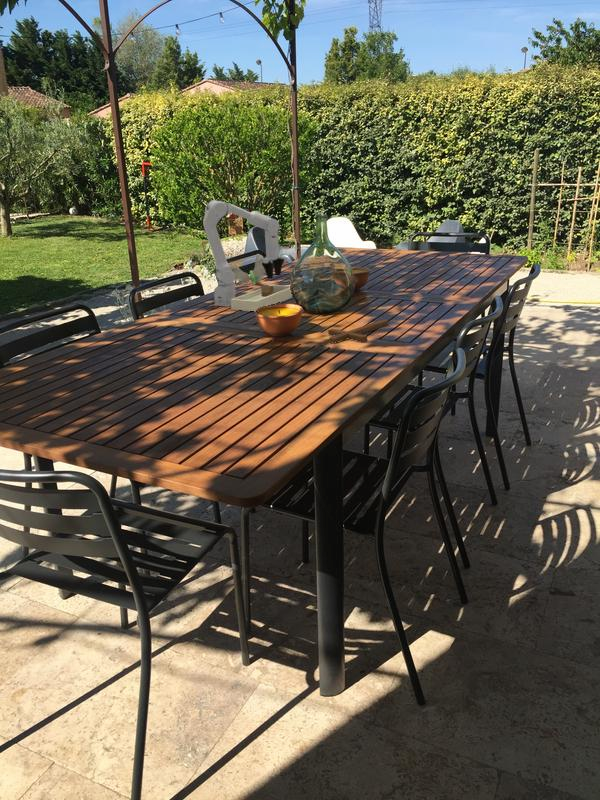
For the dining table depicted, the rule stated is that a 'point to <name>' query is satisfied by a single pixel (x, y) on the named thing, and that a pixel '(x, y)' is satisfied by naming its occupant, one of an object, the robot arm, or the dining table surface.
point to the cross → (356, 332)
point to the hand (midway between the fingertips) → (274, 276)
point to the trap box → (260, 299)
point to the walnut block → (267, 290)
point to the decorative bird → (254, 274)
